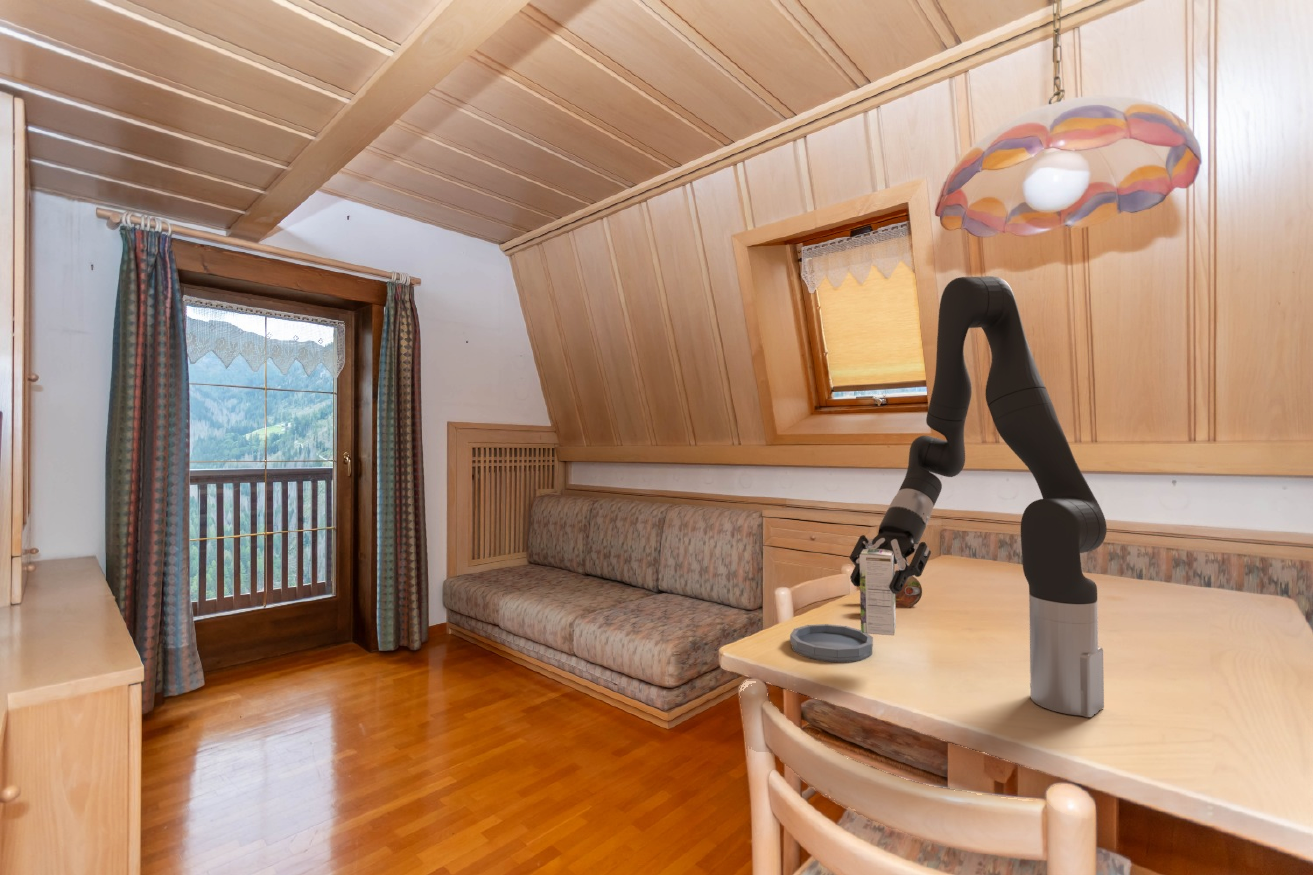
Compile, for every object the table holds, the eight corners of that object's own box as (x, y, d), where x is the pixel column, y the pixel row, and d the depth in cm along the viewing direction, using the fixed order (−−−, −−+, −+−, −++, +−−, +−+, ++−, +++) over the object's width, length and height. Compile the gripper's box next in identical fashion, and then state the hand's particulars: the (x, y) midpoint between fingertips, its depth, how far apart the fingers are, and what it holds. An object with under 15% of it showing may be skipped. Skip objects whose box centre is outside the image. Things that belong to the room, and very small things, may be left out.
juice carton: (863, 624, 117) (860, 548, 118) (897, 627, 115) (894, 549, 115) (860, 633, 112) (857, 553, 112) (895, 636, 110) (892, 554, 110)
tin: (860, 606, 159) (860, 573, 159) (858, 603, 162) (858, 570, 162) (922, 608, 156) (922, 574, 156) (919, 604, 160) (919, 572, 160)
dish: (888, 649, 126) (888, 637, 126) (839, 668, 116) (839, 655, 116) (824, 631, 139) (824, 619, 139) (775, 646, 129) (775, 634, 129)
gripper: (865, 503, 124) (831, 569, 117) (934, 507, 113) (900, 581, 105) (882, 527, 127) (849, 593, 120) (950, 533, 116) (918, 607, 108)
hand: (873, 587), depth 113 cm, fingers closed on juice carton, 7 cm apart
